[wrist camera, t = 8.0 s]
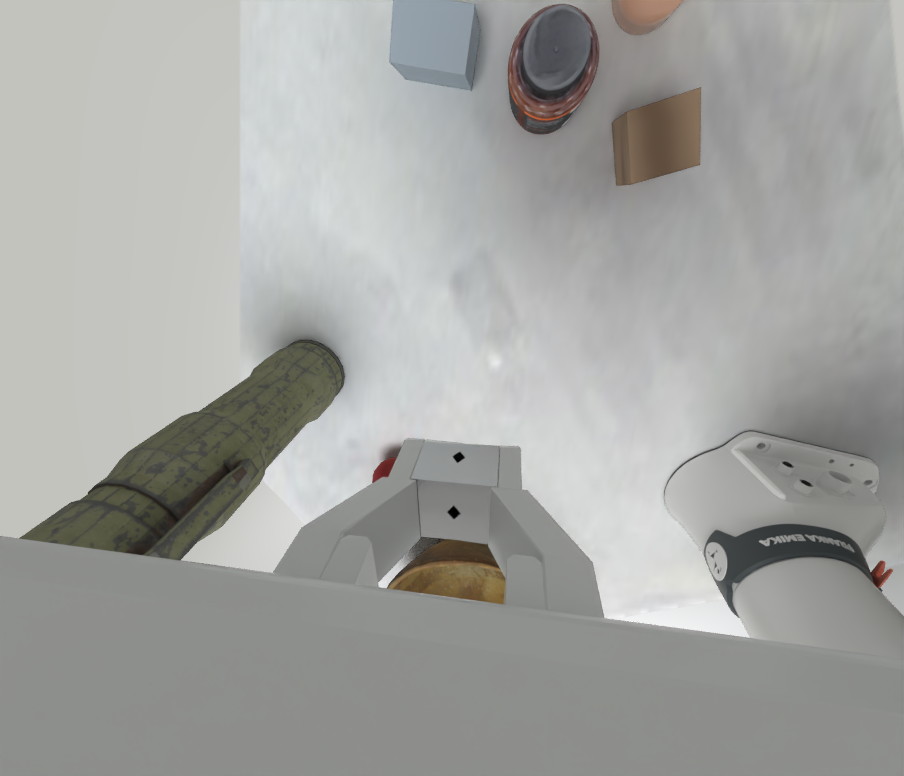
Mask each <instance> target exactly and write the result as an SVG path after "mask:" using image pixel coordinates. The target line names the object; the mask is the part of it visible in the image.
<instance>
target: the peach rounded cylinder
mask: <svg viewBox="0 0 904 776" xmlns="http://www.w3.org/2000/svg"><path fill="white" fill-rule="evenodd" d="M682 1H683V0H612V10H613V15H614V18H615V20H616V22H617V24H618V25H619V26H620V28H621V29H623V30H624V31H625V32H627V33H629V34H633V35H642V34H646V33H649V32H651V31H653V30H655V29H656V28H658V27H659V26H660V25H662V24H663V23H664V22H665V21H666V20H667V18H668V17H669V16H670V15H671V14H672V13H673V11H674V10H675V9H676V8H677V7H678V6H679V5H680V3H681V2H682Z"/></svg>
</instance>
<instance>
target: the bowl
mask: <svg viewBox="0 0 904 776" xmlns="http://www.w3.org/2000/svg"><path fill="white" fill-rule="evenodd" d="M387 589H394V590H401V591H409V592H416V593H424V594H431V595H438V596H446V597H453V598H460V599H468V600H475V601H482V602H490V603H497V604H503V602H504V591H505V577H504V575H503V573H502V571H501V569H500V567H499V565H498V564H497V562H496V560H495V558H494V556H493V554H492V552H491V550H490V548H489V547H488V544H481V543H474V542H467V541H460V540H453V539H444V540H443V541H441V542H440V543H438V544H436V545H434V546H432V547H430V548H428V549H426V550H425V551H424V552H422V553H421V554H420V555H419V556H418V557H416V558H415V559H414V560H413V561H412V562H411V563H409V564H408V565H407V566H406V567H405V568H404V569H402V570H401V571H400V572H399V573H398V574H397V575H396V576H395V578H394V579H393V580H392V581H391V582H390V583H389V585H388V587H387Z"/></svg>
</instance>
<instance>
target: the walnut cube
mask: <svg viewBox="0 0 904 776" xmlns="http://www.w3.org/2000/svg"><path fill="white" fill-rule="evenodd" d="M700 130H701V87H700V88H697V89H694V90H691V91H688V92H685V93H682V94H679V95H676V96H673V97H670V98H667V99H664V100H661V101H658V102H655V103H652V104H649V105H646V106H643V107H640V108H637V109H634V110H631V111H628V112H626V113H625V114H623V115H622V116H621V117H619V118H618V119H616V120H615V121H614V122H612V133H613V147H614V160H615V174H616V186H620V185H631V184H635V183H638V182H642V181H645V180H649V179H652V178H656V177H659V176H663V175H666V174H670V173H673V172H677V171H680V170H684V169H687V168H691V167H694V166H698V165H700Z"/></svg>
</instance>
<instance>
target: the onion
mask: <svg viewBox="0 0 904 776" xmlns="http://www.w3.org/2000/svg"><path fill="white" fill-rule="evenodd" d="M396 459H397V458H390V459H387V460H385V461H383V462H381V463H380V465H379V466H378V467H377V468H376V470H375V471H374V474H373V481H372V483H374V482H375V481H377V480H378V479H380V478H382V477H388V476H389V474H390V472H391V470H392V468H393V465H394V463H395V461H396Z"/></svg>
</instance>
